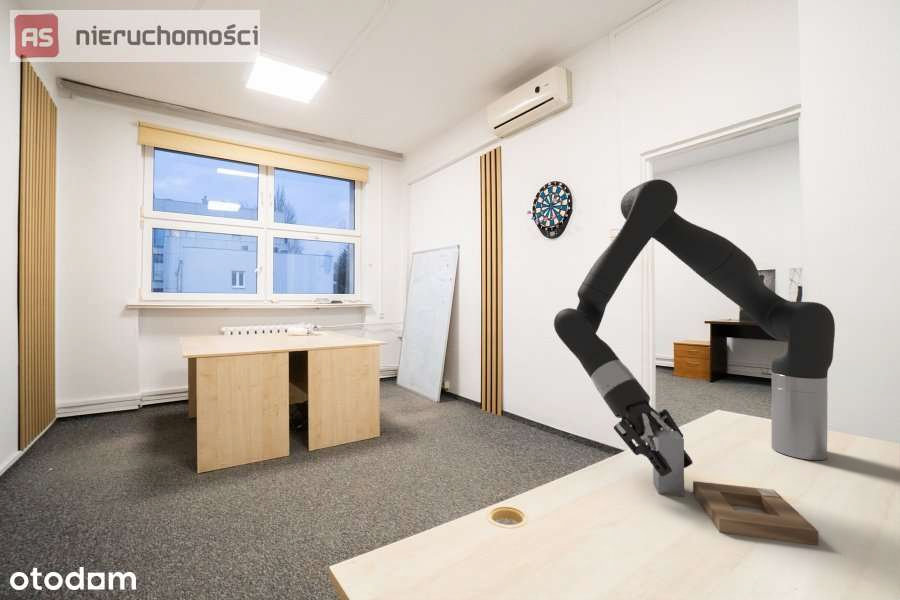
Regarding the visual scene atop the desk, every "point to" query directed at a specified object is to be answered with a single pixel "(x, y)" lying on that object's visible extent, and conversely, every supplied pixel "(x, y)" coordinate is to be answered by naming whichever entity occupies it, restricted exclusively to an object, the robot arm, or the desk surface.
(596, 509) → the desk surface
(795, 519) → the socket board
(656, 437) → the peg
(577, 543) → the desk surface
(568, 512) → the desk surface
